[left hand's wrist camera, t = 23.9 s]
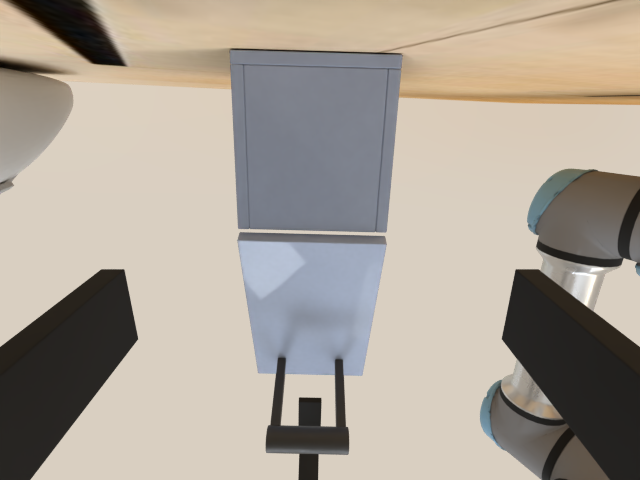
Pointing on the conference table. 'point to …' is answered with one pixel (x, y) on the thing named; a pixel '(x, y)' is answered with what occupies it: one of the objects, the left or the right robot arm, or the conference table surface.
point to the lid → (310, 319)
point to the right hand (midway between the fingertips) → (308, 447)
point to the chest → (314, 139)
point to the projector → (28, 119)
